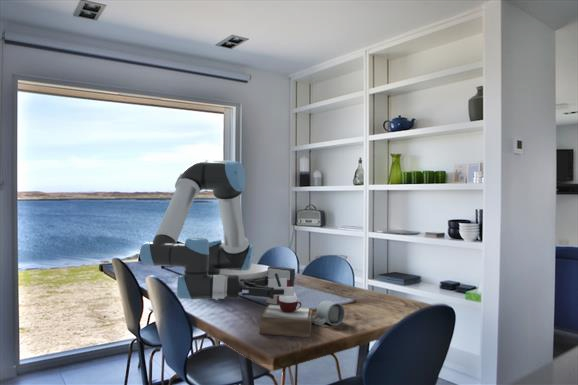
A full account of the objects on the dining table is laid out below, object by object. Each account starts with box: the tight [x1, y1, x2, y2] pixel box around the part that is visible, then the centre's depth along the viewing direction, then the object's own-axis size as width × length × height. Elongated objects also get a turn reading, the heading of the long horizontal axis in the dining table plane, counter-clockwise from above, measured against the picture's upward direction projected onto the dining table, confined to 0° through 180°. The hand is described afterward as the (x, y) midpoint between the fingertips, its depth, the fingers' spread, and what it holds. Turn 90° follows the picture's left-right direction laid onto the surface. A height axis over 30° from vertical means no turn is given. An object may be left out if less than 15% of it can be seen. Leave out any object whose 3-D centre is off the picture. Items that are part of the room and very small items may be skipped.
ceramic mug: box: [312, 300, 346, 326], centre depth 145 cm, size 11×8×8 cm
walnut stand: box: [259, 304, 313, 338], centre depth 138 cm, size 16×16×6 cm
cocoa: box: [275, 273, 302, 313], centre depth 139 cm, size 10×6×12 cm, turn 48°
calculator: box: [266, 265, 296, 305], centre depth 168 cm, size 11×4×15 cm, turn 62°
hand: (290, 286), depth 138 cm, fingers open, 13 cm apart
